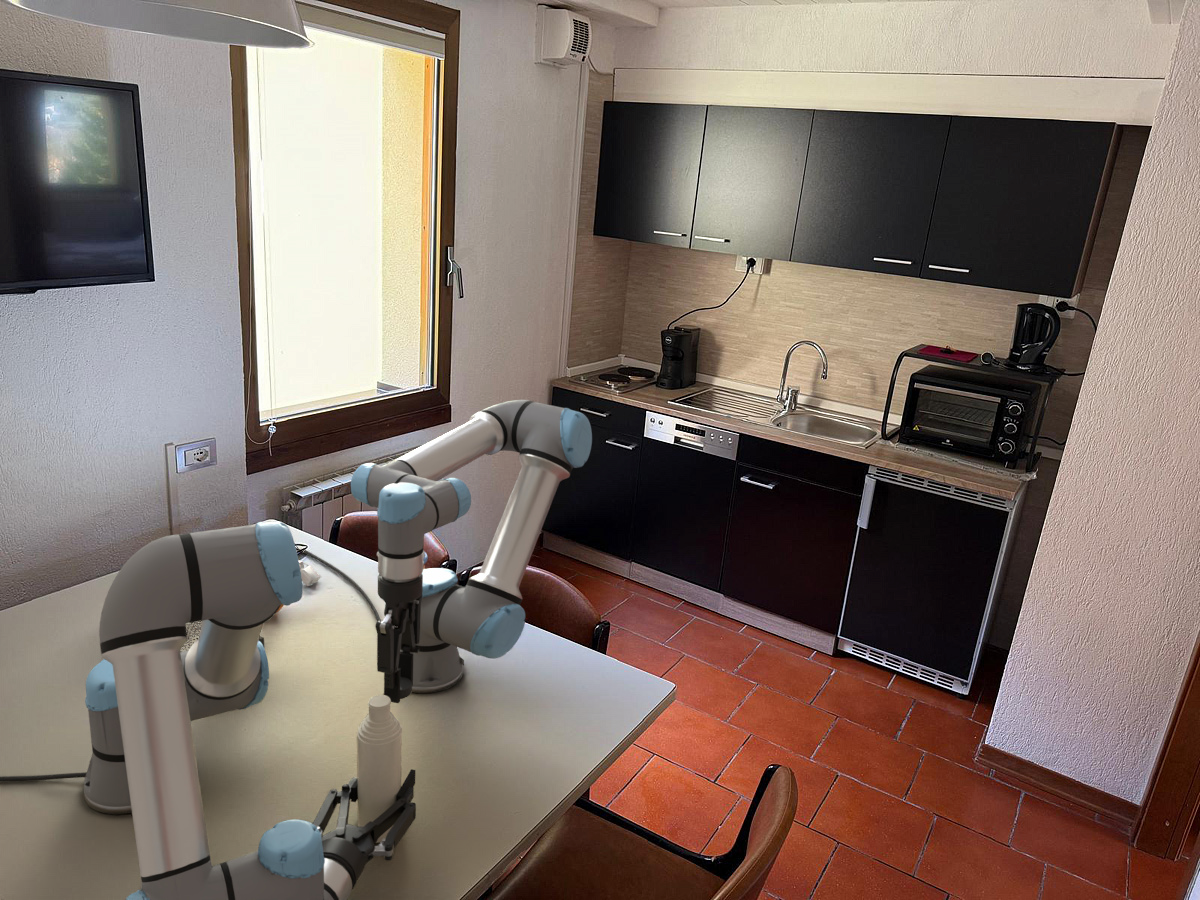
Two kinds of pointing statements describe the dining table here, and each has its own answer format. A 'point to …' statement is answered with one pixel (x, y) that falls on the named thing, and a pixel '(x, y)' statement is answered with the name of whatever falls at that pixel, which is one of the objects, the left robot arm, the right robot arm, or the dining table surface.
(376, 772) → the bottle
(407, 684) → the cap
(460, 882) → the dining table surface
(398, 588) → the right robot arm
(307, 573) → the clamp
